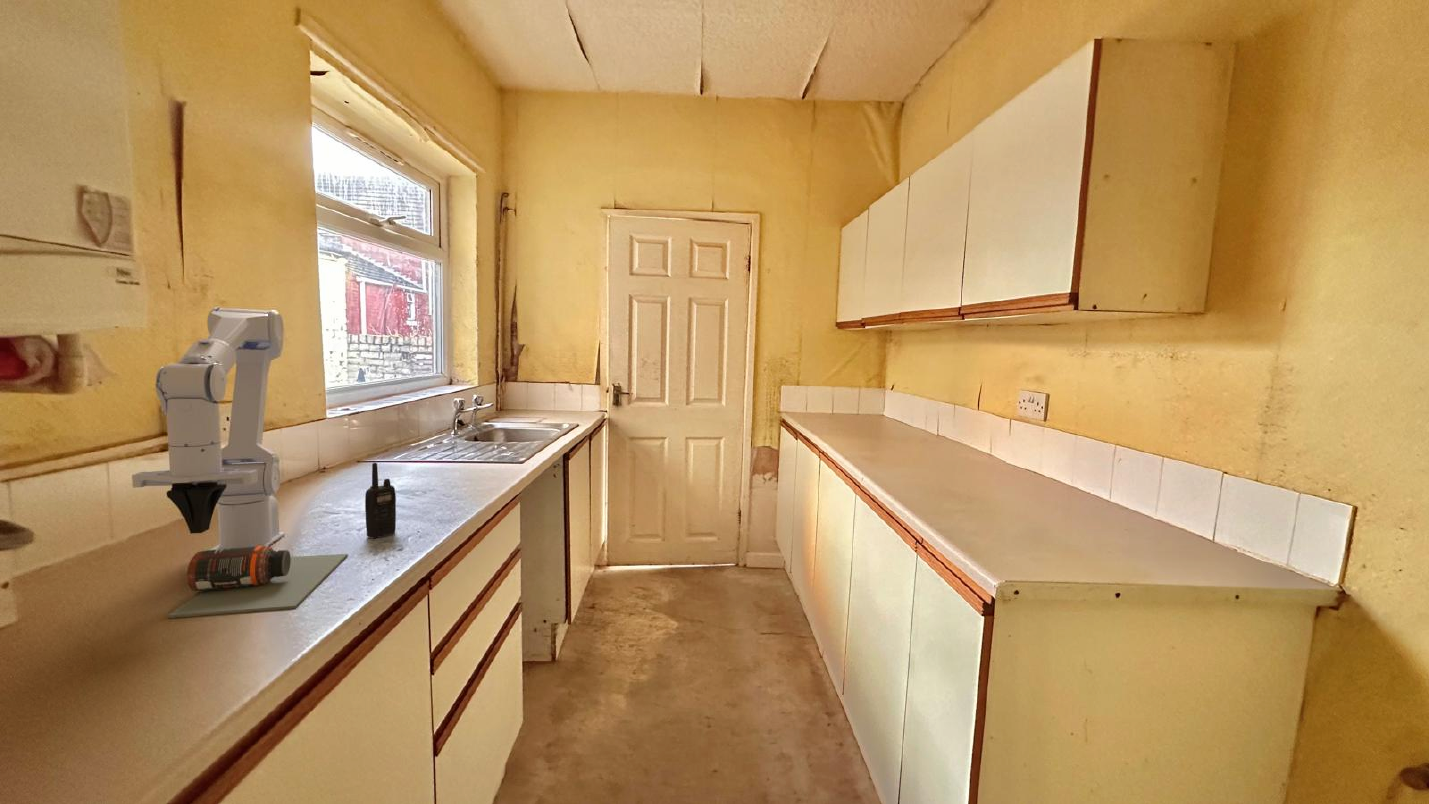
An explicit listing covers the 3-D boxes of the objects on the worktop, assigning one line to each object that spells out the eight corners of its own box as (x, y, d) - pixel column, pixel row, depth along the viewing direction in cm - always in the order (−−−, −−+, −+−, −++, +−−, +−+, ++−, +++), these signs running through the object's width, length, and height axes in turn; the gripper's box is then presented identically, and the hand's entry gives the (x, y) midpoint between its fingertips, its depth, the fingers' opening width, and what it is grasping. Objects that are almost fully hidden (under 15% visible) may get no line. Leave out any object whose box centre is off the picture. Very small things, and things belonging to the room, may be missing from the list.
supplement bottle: (186, 599, 79) (281, 589, 84) (183, 560, 79) (279, 552, 83) (205, 581, 85) (294, 572, 89) (203, 545, 84) (292, 538, 88)
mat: (248, 561, 94) (248, 559, 94) (347, 555, 98) (347, 553, 98) (167, 618, 75) (167, 615, 75) (295, 608, 79) (295, 605, 79)
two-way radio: (370, 540, 105) (369, 465, 104) (359, 536, 108) (357, 461, 106) (399, 533, 110) (398, 460, 109) (388, 528, 112) (386, 457, 111)
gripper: (113, 449, 76) (119, 543, 77) (237, 448, 80) (241, 537, 81) (149, 440, 83) (155, 526, 84) (263, 439, 87) (266, 522, 88)
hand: (199, 531), depth 83 cm, fingers closed
